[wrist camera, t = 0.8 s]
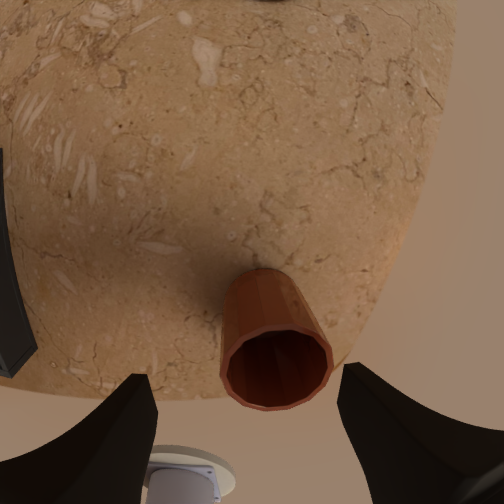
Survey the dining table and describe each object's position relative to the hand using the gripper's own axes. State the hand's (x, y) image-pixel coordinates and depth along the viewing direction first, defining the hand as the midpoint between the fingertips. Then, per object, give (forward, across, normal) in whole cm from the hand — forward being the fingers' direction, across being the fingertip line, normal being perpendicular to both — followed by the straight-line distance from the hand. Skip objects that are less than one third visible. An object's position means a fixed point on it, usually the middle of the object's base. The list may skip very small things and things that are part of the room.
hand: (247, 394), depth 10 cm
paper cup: (+9, -1, +1) cm, 9 cm away
